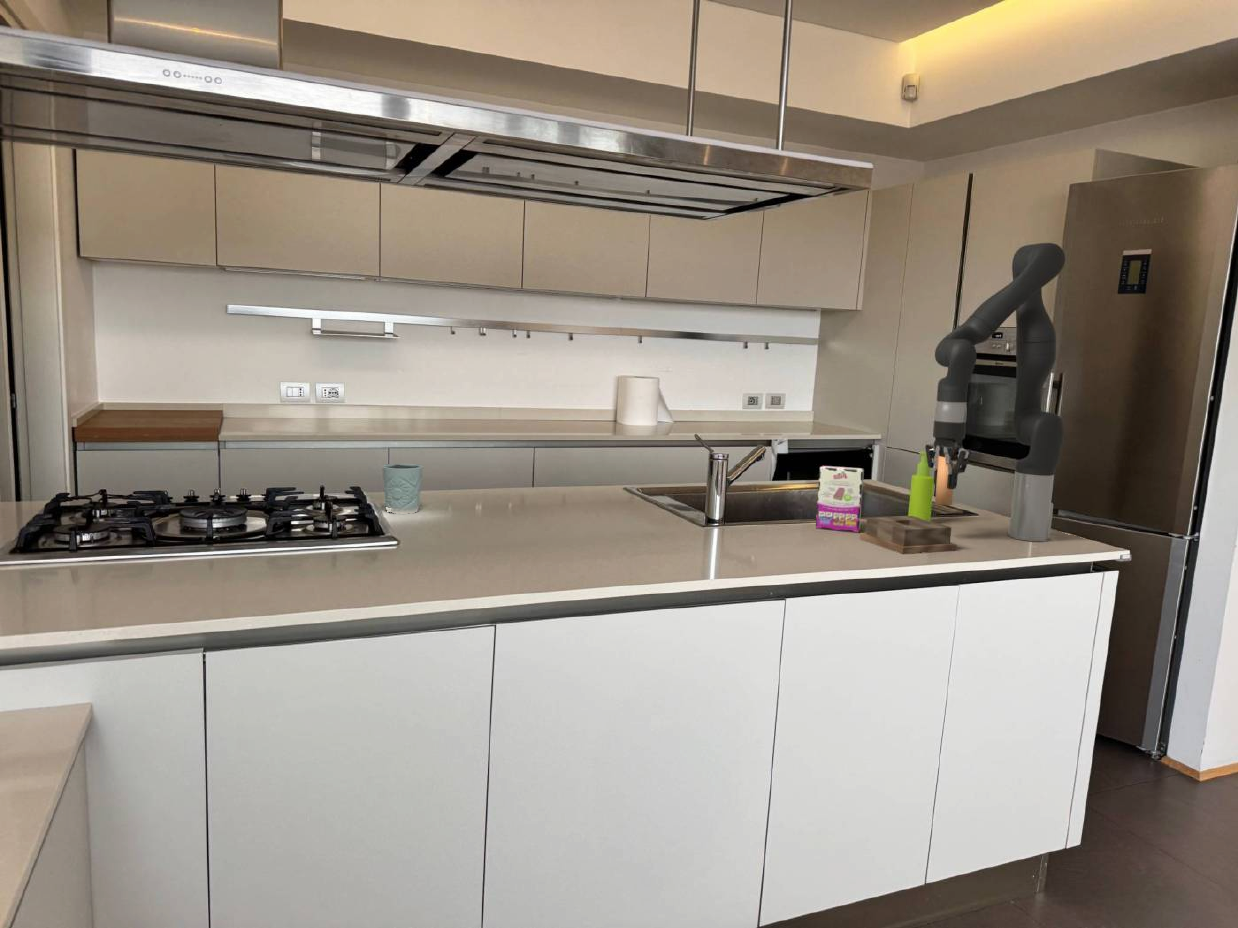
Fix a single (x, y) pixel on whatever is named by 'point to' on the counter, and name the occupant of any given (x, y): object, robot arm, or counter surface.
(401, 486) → the teal embossed pot
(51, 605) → the counter surface
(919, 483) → the soap dispenser
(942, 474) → the wooden pin
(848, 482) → the candy bar box
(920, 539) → the socket block
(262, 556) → the counter surface
